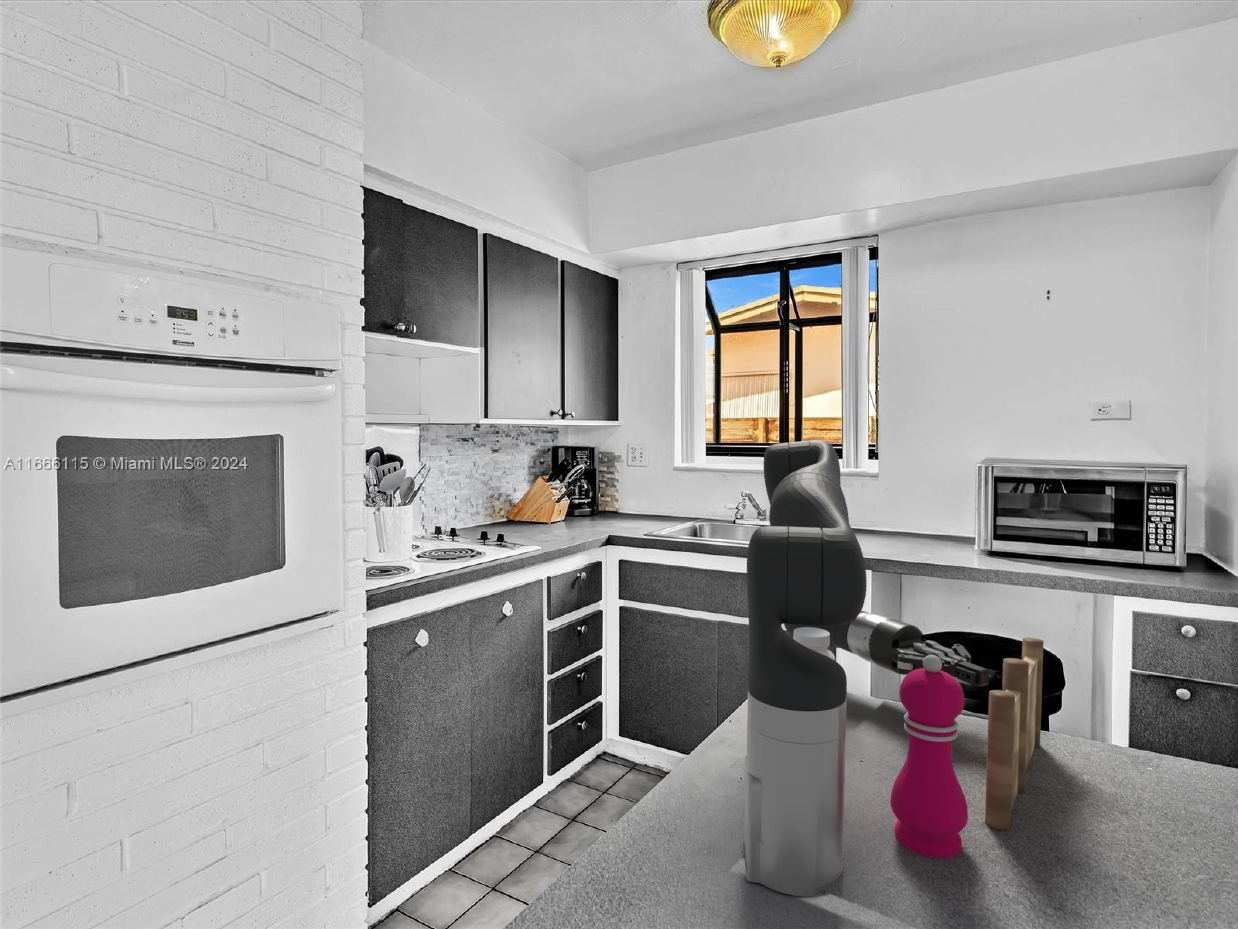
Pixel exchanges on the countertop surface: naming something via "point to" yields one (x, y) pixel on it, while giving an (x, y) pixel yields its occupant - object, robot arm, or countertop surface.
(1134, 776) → the countertop surface
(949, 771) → the pepper mill
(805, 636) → the supplement bottle
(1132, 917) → the countertop surface
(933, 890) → the countertop surface
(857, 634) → the robot arm
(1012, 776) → the fixed panel
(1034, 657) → the swing panel
